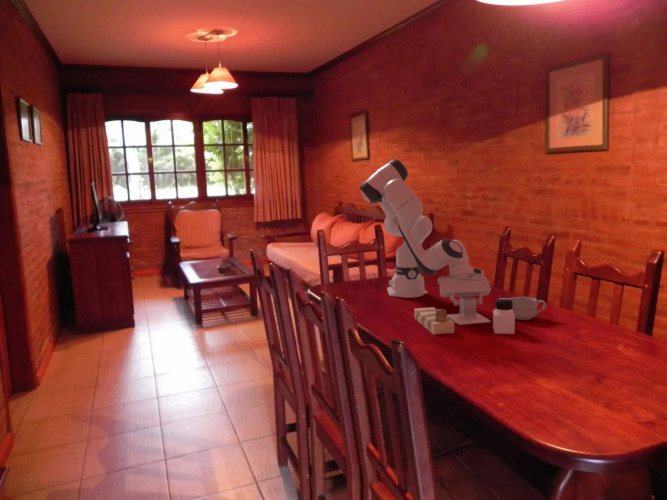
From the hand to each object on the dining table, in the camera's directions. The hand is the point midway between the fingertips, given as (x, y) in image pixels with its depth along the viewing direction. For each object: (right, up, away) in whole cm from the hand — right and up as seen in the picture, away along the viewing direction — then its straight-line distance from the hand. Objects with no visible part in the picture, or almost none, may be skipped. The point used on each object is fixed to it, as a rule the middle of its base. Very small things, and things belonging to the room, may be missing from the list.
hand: (468, 304), depth 212 cm
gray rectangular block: (0, -5, +1) cm, 6 cm away
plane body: (-15, -8, -5) cm, 17 cm away
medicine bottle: (+9, -8, -15) cm, 19 cm away
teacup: (+23, -6, -1) cm, 24 cm away
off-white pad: (0, -6, +2) cm, 6 cm away
